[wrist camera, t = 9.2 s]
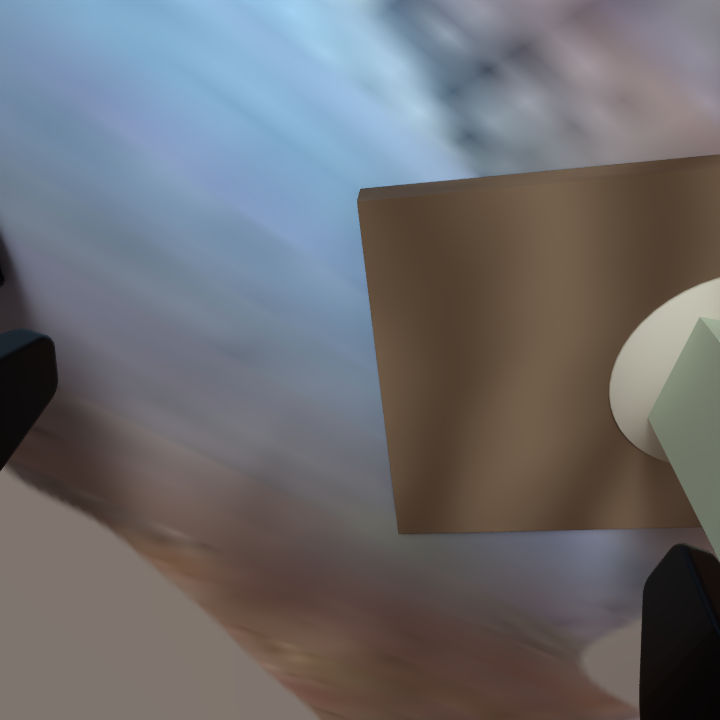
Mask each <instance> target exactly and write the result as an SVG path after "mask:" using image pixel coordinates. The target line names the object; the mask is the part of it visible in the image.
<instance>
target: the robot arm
mask: <svg viewBox="0 0 720 720" xmlns="http://www.w3.org/2000/svg"><path fill="white" fill-rule="evenodd" d="M3 284H4V277H3V274H2V272H1V270H0V288H1V287H2V285H3ZM57 385H58V374H57V364H56V354H55V345H54V342H53V340H52V339H51V338H50V337H49V336H47V335H45V334H42V333H39V332H36V331H32V330H29V329H17V330H13V331H9V332H6V333H2V334H0V471H1V470H2V468H3V467H4V466H5V464H6V463H7V461H8V460H9V459H10V457H11V456H12V454H13V453H14V452H15V450H16V449H17V447H18V446H19V444H20V443H21V442H22V440H23V439H24V437H25V436H26V435H27V433H28V432H29V430H30V429H31V428H32V426H33V425H34V423H35V422H36V420H37V419H38V418H39V416H40V415H41V413H42V412H43V411H44V409H45V408H46V406H47V405H48V404H49V402H50V401H51V399H52V398H53V396H54V394H55V392H56V389H57ZM639 686H640V687H639V709H640V720H720V562H719V561H718V560H717V558H716V557H715V556H714V555H713V554H712V553H710V552H708V551H706V550H703V549H700V548H697V547H694V546H691V545H688V544H685V543H678V544H676V545H674V546H673V547H672V548H671V549H670V550H669V551H668V553H667V554H666V555H665V557H664V558H663V559H662V560H661V562H660V563H659V564H658V565H657V567H656V568H655V569H654V571H653V572H652V573H651V574H650V576H649V577H648V579H647V581H646V583H645V586H644V590H643V604H642V631H641V658H640V684H639Z"/></svg>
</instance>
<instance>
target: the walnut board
mask: <svg viewBox="0 0 720 720" xmlns="http://www.w3.org/2000/svg"><path fill="white" fill-rule="evenodd" d="M357 205H358V213H359V221H360V229H361V237H362V245H363V253H364V261H365V269H366V277H367V285H368V293H369V301H370V309H371V317H372V325H373V333H374V341H375V349H376V357H377V365H378V373H379V381H380V389H381V397H382V405H383V413H384V421H385V429H386V437H387V445H388V453H389V461H390V469H391V477H392V485H393V493H394V501H395V509H396V517H397V525H398V532H399V534H419V533H462V532H506V531H549V530H593V529H636V528H680V527H702V525H701V523H700V521H699V519H698V517H697V515H696V513H695V511H694V509H693V507H692V505H691V503H690V501H689V499H688V497H687V495H686V493H685V491H684V489H683V487H682V485H681V483H680V481H679V479H678V477H677V475H676V473H675V471H674V469H673V467H672V465H671V463H670V461H669V459H668V457H667V455H666V453H665V451H664V449H663V447H662V445H661V443H660V441H659V439H658V437H657V435H656V433H655V431H654V429H653V427H652V425H651V423H650V421H649V419H648V416H649V414H650V412H651V410H652V408H653V406H654V404H655V402H656V400H657V398H658V396H659V394H660V392H661V390H662V389H663V387H664V385H665V383H666V381H667V379H668V377H669V375H670V373H671V371H672V369H673V367H674V365H675V363H676V361H677V359H678V358H679V356H680V354H681V352H682V350H683V348H684V346H685V344H686V342H687V340H688V338H689V336H690V334H691V332H692V330H693V329H694V327H695V325H696V323H697V321H698V319H699V317H705V318H710V319H716V320H720V155H710V156H700V157H689V158H679V159H668V160H658V161H647V162H637V163H626V164H616V165H605V166H595V167H585V168H574V169H564V170H553V171H543V172H532V173H522V174H511V175H501V176H490V177H480V178H469V179H459V180H449V181H438V182H428V183H417V184H407V185H396V186H386V187H375V188H365V189H360V192H359V196H358V200H357Z"/></svg>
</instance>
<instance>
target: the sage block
mask: <svg viewBox="0 0 720 720" xmlns="http://www.w3.org/2000/svg"><path fill="white" fill-rule="evenodd" d="M648 419H649V421H650V423H651V425H652V427H653V429H654V431H655V433H656V435H657V437H658V439H659V441H660V443H661V445H662V447H663V449H664V451H665V453H666V455H667V457H668V459H669V461H670V463H671V465H672V467H673V469H674V471H675V473H676V475H677V477H678V479H679V481H680V483H681V485H682V487H683V489H684V491H685V493H686V495H687V497H688V499H689V501H690V503H691V505H692V507H693V509H694V511H695V513H696V515H697V517H698V519H699V521H700V523H701V525H702V527H703V529H704V531H705V533H706V535H707V537H708V539H709V541H710V543H711V545H712V547H713V549H714V551H715V553H716V555H717V557H718V559H719V561H720V320H716V319H710V318H705V317H699V319H698V321H697V323H696V325H695V327H694V329H693V330H692V332H691V334H690V336H689V338H688V340H687V342H686V344H685V346H684V348H683V350H682V352H681V354H680V356H679V358H678V359H677V361H676V363H675V365H674V367H673V369H672V371H671V373H670V375H669V377H668V379H667V381H666V383H665V385H664V387H663V389H662V390H661V392H660V394H659V396H658V398H657V400H656V402H655V404H654V406H653V408H652V410H651V412H650V414H649V416H648Z"/></svg>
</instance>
